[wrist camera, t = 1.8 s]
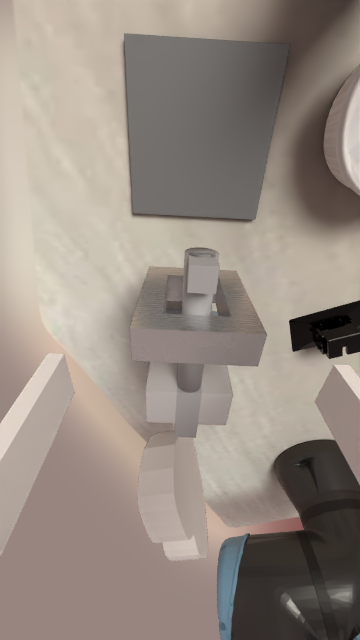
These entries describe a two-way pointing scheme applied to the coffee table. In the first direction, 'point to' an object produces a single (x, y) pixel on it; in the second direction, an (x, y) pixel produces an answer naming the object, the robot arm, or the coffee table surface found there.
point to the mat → (200, 123)
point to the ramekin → (345, 134)
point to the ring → (195, 324)
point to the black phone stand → (328, 330)
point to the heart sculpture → (173, 496)
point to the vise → (186, 378)
